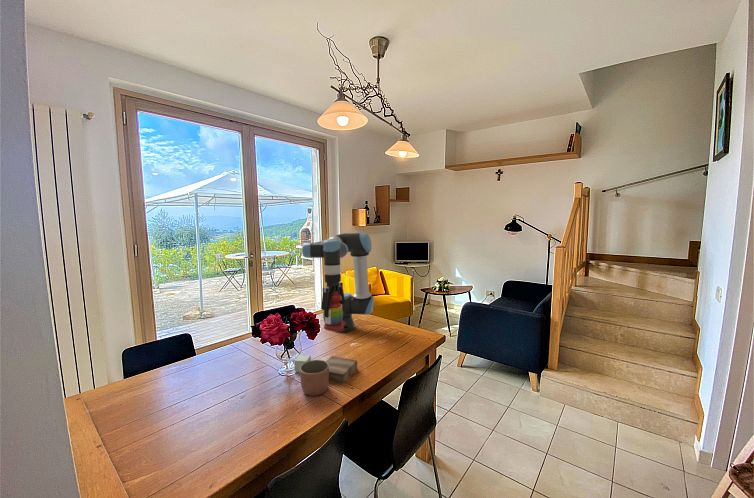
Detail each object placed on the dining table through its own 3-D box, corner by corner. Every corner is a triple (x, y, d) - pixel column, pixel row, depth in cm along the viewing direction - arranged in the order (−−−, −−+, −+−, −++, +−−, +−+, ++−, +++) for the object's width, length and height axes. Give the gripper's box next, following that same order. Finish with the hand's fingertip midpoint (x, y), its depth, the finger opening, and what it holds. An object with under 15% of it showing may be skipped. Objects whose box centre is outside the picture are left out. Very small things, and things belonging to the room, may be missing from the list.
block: (299, 366, 154) (299, 354, 153) (311, 367, 153) (310, 355, 152) (294, 372, 148) (294, 360, 147) (306, 373, 147) (306, 361, 147)
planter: (319, 379, 141) (318, 357, 140) (335, 390, 132) (334, 366, 131) (295, 390, 133) (294, 366, 131) (311, 402, 124) (309, 377, 123)
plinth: (332, 365, 155) (332, 355, 155) (357, 370, 150) (356, 360, 149) (317, 379, 142) (316, 368, 142) (343, 385, 137) (343, 374, 136)
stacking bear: (343, 331, 139) (342, 293, 137) (321, 331, 139) (319, 293, 137) (346, 323, 150) (345, 288, 148) (326, 323, 150) (324, 288, 148)
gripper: (338, 269, 153) (339, 312, 155) (311, 277, 133) (313, 326, 136) (351, 270, 150) (352, 314, 152) (325, 278, 130) (327, 329, 132)
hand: (334, 320), depth 144 cm, fingers closed on stacking bear, 9 cm apart
